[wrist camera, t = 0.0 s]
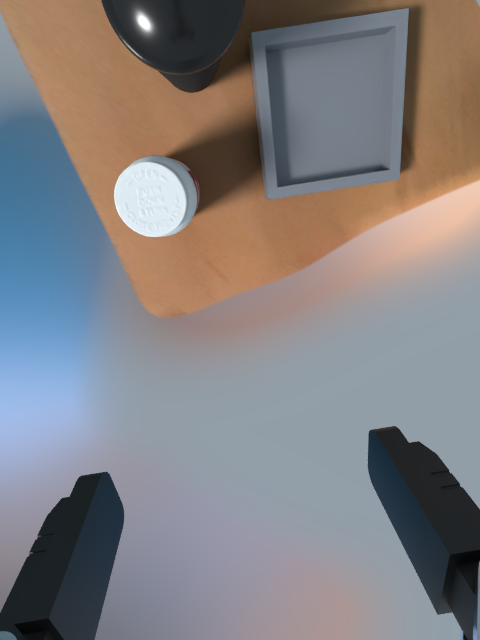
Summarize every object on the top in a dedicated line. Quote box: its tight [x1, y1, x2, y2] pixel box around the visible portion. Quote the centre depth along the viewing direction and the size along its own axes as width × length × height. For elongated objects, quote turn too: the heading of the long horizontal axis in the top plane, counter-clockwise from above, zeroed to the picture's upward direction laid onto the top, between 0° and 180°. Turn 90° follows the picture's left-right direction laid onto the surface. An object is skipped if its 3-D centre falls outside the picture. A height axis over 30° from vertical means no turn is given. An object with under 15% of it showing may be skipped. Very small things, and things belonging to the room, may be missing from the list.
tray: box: [249, 8, 409, 200], centre depth 31 cm, size 13×13×2 cm
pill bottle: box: [114, 155, 200, 237], centre depth 29 cm, size 6×6×11 cm
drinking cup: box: [101, 0, 245, 93], centre depth 21 cm, size 8×8×20 cm
